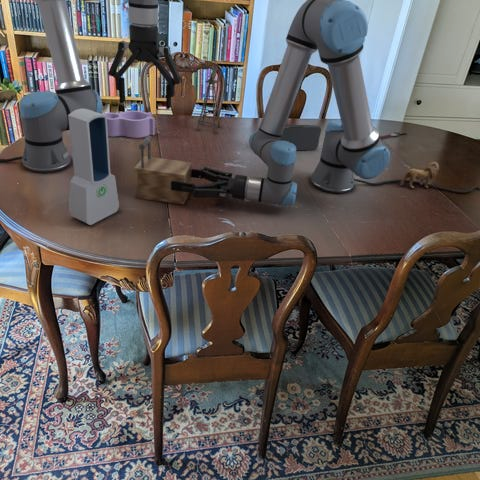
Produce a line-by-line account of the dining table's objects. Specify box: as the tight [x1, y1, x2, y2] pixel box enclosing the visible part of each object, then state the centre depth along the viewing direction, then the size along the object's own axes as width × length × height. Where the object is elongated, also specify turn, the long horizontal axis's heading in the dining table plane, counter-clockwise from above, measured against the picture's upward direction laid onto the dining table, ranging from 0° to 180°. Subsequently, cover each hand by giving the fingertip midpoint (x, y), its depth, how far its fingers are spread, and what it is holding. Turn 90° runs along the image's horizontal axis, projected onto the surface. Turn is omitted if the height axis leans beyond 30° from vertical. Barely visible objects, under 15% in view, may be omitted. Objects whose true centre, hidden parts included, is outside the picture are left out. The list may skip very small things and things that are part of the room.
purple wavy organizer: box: [102, 110, 156, 139], centre depth 189 cm, size 20×12×7 cm, turn 109°
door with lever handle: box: [133, 135, 193, 179], centre depth 142 cm, size 16×10×9 cm, turn 83°
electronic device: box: [68, 109, 120, 226], centre depth 127 cm, size 12×8×30 cm, turn 148°
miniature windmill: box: [196, 58, 221, 133], centre depth 195 cm, size 9×8×30 cm
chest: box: [136, 166, 193, 205], centre depth 147 cm, size 15×10×9 cm
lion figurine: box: [399, 161, 440, 189], centre depth 170 cm, size 15×5×9 cm, turn 110°
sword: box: [380, 132, 406, 140], centre depth 214 cm, size 31×3×1 cm, turn 126°
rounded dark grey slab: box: [280, 124, 322, 151], centre depth 189 cm, size 23×3×10 cm, turn 108°
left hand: (145, 104), depth 134 cm, fingers open, 13 cm apart
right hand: (175, 178), depth 146 cm, fingers closed on chest, 10 cm apart
